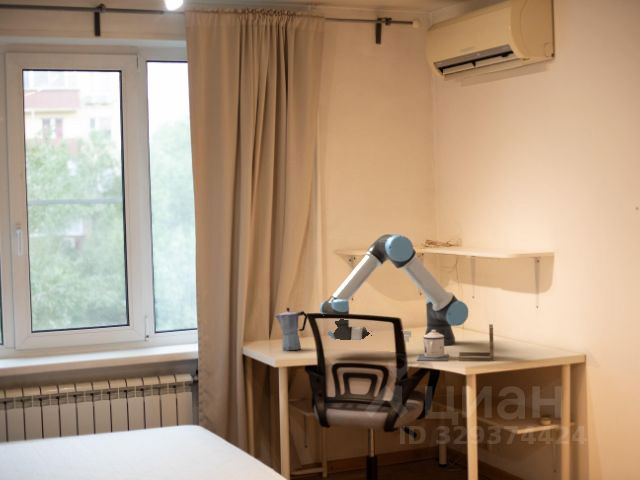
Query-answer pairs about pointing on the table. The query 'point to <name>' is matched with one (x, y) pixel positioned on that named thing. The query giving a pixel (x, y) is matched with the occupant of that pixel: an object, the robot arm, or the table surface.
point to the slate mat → (423, 358)
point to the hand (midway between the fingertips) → (410, 336)
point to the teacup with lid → (434, 344)
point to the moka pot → (290, 329)
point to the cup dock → (480, 352)
